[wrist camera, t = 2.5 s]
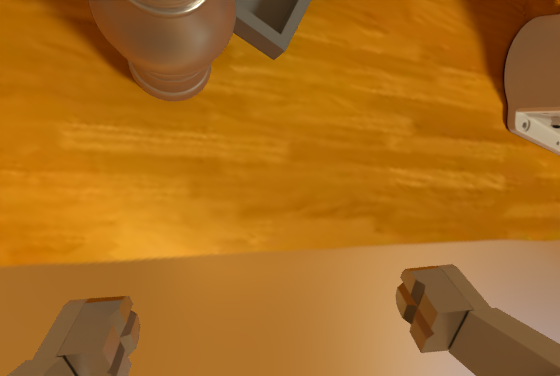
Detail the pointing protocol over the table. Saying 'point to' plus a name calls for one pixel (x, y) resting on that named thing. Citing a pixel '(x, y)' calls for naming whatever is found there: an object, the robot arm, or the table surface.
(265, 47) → the box
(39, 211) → the table surface
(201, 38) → the plastic bottle
